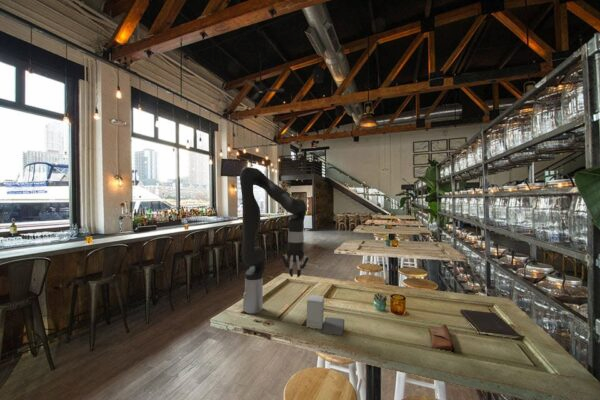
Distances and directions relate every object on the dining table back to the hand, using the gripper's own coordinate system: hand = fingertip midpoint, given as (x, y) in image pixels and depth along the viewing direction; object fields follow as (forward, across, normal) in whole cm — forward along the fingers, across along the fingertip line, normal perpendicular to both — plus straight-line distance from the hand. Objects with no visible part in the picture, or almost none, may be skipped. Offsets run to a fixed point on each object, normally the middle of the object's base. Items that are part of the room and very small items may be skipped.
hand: (295, 276), depth 124 cm
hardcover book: (+23, +91, +19) cm, 96 cm away
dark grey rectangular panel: (+22, +18, 0) cm, 29 cm away
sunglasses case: (+23, +64, -1) cm, 68 cm away
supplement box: (+22, +10, 0) cm, 24 cm away
